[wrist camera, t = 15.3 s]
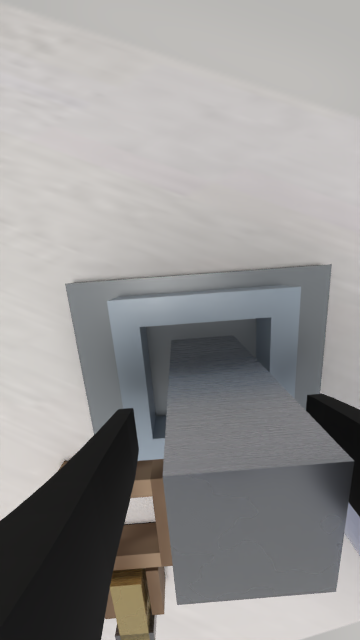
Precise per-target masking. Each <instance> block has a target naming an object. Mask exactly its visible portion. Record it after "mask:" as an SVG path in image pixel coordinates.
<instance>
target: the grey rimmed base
mask: <svg viewBox="0 0 360 640" xmlns="http://www.w3.org/2000/svg"><path fill="white" fill-rule="evenodd" d="M331 266H332V264H330V265H316V266H302V267H288V268H274V269H261V270H247V271H233V272H219V273H206V274H192V275H178V276H164V277H150V278H137V279H123V280H109V281H95V282H82V283H68V284H65V285H66V291H67V296H68V301H69V306H70V311H71V317H72V322H73V327H74V332H75V337H76V343H77V348H78V353H79V358H80V363H81V369H82V374H83V379H84V384H85V389H86V395H87V400H88V405H89V410H90V416H91V421H92V426H93V431H94V435H95V434H96V433H97V432H98V431H99V429H100V428H101V427H102V426H103V425H104V424H105V423H106V422H107V421H108V420H109V419H110V418H111V417H112V415H113V414H114V413H115V412H116V411H117V410H118V409H126V408H133V409H134V417H135V424H136V431H137V439H138V446H139V454H138V461H142V460H155V459H164V447H165V431H166V415H167V400H168V384H169V369H170V353H171V340H177V339H191V338H204V337H217V336H230V335H234V336H235V337H236V338H237V339H238V340H239V342H240V343H241V344H242V345H243V346H244V347H245V348H246V349H247V350H248V351H249V352H250V353H251V354H252V355H253V356H254V357H255V358H256V359H257V360H258V361H259V362H260V363H261V364H262V365H263V367H264V368H265V369H266V370H267V371H268V372H269V373H270V374H271V375H272V376H273V377H274V378H275V379H276V380H277V381H278V382H279V383H280V384H281V385H282V386H283V387H284V388H285V389H286V390H287V391H288V393H289V394H290V395H291V396H292V397H293V398H294V399H295V400H296V401H297V402H298V403H299V404H300V405H301V406H302V407H303V408H304V409H305V410H306V402H307V395H312V394H320V388H321V377H322V366H323V355H324V343H325V332H326V321H327V310H328V299H329V288H330V277H331Z"/></svg>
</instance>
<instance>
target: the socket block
mask: <svg viewBox="0 0 360 640" xmlns="http://www.w3.org/2000/svg"><path fill="white" fill-rule="evenodd" d="M67 462H68V461H64V462H63V464H62V465H61V467H60V469H61V468H62V467H63V466H64V465H65V464H66V463H67ZM163 462H164V459H155V460H142V461H137V469H136V475H135V481H134V485H133V489H132V493H131V498H136V497H149V496H153V504H154V512H155V520H156V523H143V524H131V525H124V527H123V531H122V535H121V539H120V543H119V547H118V551H117V555H116V560H115V564H114V569H113V570H125V569H138V568H146V577H147V584H148V590H149V597H150V603H151V610H152V615H160V614H164V601H165V574H164V566H173V564H172V555H171V546H170V537H169V528H168V520H167V511H166V502H165V493H164V484H163ZM60 469H59V470H60ZM59 470H58V471H59ZM111 618H116V615H115V610H114V605H113V601H112V596H111V591H110V590H109V595H108V601H107V607H106V613H105V619H111Z"/></svg>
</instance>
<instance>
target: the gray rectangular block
mask: <svg viewBox="0 0 360 640" xmlns="http://www.w3.org/2000/svg"><path fill="white" fill-rule="evenodd" d="M353 467H354V460H353V459H352V458H351V457H350V456H349V455H348V454H347V453H346V452H345V451H344V450H343V449H342V448H341V447H340V446H339V445H338V444H337V443H336V441H335V440H334V439H333V438H332V437H331V436H330V435H329V434H328V433H327V432H326V431H325V430H324V429H323V428H322V427H321V426H320V425H319V424H318V423H317V422H316V421H315V420H314V419H313V418H312V416H311V415H310V414H309V413H308V412H307V411H306V410H305V409H304V408H303V407H302V406H301V405H300V404H299V403H298V402H297V401H296V400H295V399H294V398H293V397H292V396H291V395H290V394H289V393H288V391H287V390H286V389H285V388H284V387H283V386H282V385H281V384H280V383H279V382H278V381H277V380H276V379H275V378H274V377H273V376H272V375H271V374H270V373H269V372H268V371H267V370H266V369H265V368H264V367H263V365H262V364H261V363H260V362H259V361H258V360H257V359H256V358H255V357H254V356H253V355H252V354H251V353H250V352H249V351H248V350H247V349H246V348H245V347H244V346H243V345H242V344H241V343H240V342H239V340H238V339H237V338H236V337H235V336H234V335H230V336H217V337H204V338H191V339H177V340H171V353H170V369H169V384H168V400H167V415H166V431H165V447H164V462H163V484H164V493H165V502H166V511H167V520H168V528H169V537H170V546H171V555H172V564H173V572H174V581H175V590H176V599H177V605H182V604H194V603H206V602H218V601H230V600H242V599H254V598H266V597H278V596H290V595H302V594H314V593H326V592H336V587H337V580H338V573H339V566H340V559H341V552H342V545H343V538H344V531H345V524H346V517H347V509H348V502H349V495H350V488H351V481H352V474H353Z"/></svg>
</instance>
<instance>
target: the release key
mask: <svg viewBox="0 0 360 640" xmlns="http://www.w3.org/2000/svg"><path fill="white" fill-rule="evenodd" d="M110 591H111V596H112V601H113V605H114V610H115V615H116V619H117V628H116V634H115V638H116V640H155V634H156V616H157V615H152V610H151V603H150V597H149V590H148V584H147V577H146V568H138V569H125V570H113V574H112V579H111V584H110Z"/></svg>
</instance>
